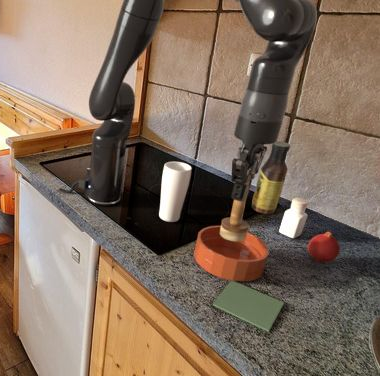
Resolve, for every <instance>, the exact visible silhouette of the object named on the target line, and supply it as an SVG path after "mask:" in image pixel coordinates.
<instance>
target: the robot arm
mask: <svg viewBox="0 0 380 376" xmlns="http://www.w3.org/2000/svg"><path fill="white" fill-rule="evenodd" d="M234 2H235V3H236V4H238V5H239V7H240V9H241V11H242V14H243V16H244V18H245V19H246V22H247V23H248V25H249V27H250V28H251V29H252V30H253V32H254V33H255V34H256V35H257V36H258V37H260V38H261V39H263V40H264V41H267V45H266V47H265V50H264V52H263V53H262V54H261V55H259V56H257V57H256V58H255V59H254V60H253V62H252V64H251V67H250V71H249V76H248V80H247V84H246V88H245V91H244V93H243V96H242V99H241V103H240V108H239V112H238V115H237V119H236V124H235V128H234V132H233V134H234V137H235V138H236V139H238V140H240V141H241V142H242V144H241V147H240V146H239V147H238V149H237V152H236V158H235V157H234V158H233V159H232V160H231V178H230V181H231V182H232V183H234V184H233V188H232V192H231V195H230V196H231V199H232V200H233V201H234V200H237V201H242V200H243V199H244V196H245V192H246V188H247V184H248V183H249V178H250V175H251V179H250V184H249V188H248V193H247V196H249V193H250V190H251V186H252V183H253V180H254V179H255V178H256V175H257V174H258V173H259V170H260V169H261V168H260V167H261V165H262V162H263V160H264V158H265V156H266V155H265V154H266V152H267V151H268V146H265V145H272V144H273V143H275V142H277V141H278V139H279V135H280V131H281V128H282V125H283V121H284V117H285V114H286V110H287V107H288V100H289V94H290V91H291V89H292V88H291V87H292V84H293V80H294V77H295V72H296V69H297V67H298V65H299V63H300V61H301V59H302V58H303V56H304V53H305V51H306V49H307V47H308V45H309V43H310V41H311V39H312V37H313V35H314V32H315V29H316V25H317V19H318V12H317V11H318V10H317V7H316V4H315V3H314V2H313V1H312V0H234ZM164 8H165V0H123V1H122V4H121V7H120V10H119V13H118V16H117V19H116V21H115V22H116V23H115V27H114V30H113V33H112V36H111V39H110V42H109V44H108V48H107V51H106V54H105V57H104V60H103V62H102V64H101V67H100V70H99V72H98V74H97V77H96V79H95V81H94V83H93V86H92V88H91V90H90V94H89V97H88V110H89V113H90V115H91V116H92V118H93V119H95V120H97V121H99V122H101V121H102V123H101V124H100V126H99V127H97V128H96V129H95V130H94V131H93V133H92V140H91V153H90V154H91V155H90V163H89V164H90V165H88V166H87V168H86V175H85V176H84V177H81V178H79V179H78V180H77V181H75V182H74V183H72V184H71V188H70V189H65V188H61V187H59V188H58V190H59V191H60V192H63V193H65V194H70V193H73V191H74V189H75V186H77V185H78V188H80V189H83V190H85V193H84V198H86V199H87V200H88V201H89V202H90V203H91V204H94V205H96V206H101V207H111V206H112V207H113V206H116V205H118V204H120V203H121V194H122V193H121V192H122V186H123V177H124V176H123V175H124V167H125V158H126V149H127V141H128V138H129V136H130V134H131V131H132V126H133V120H134V114H135V108H136V97H135V92H134V89H133V87H132V86H131V85H130V84H129V83H127V82H126V81H125V82H124V80H125V78H126V77H127V74H128V73H129V71H130V70H131V68H132V67H133V66H134V64H135V63H136V62H137V61H138V59H139V58H140V57H141V56H142V55H143V54H144V52H145V51H146V50H147V48H148V47H149V45H150V44H151V43H152V41H153V40H154V38H155V35H156V32H157V29H158V27H159V25H160V21H161V19H162V16H163V14H164ZM239 176H241V177H239Z"/></svg>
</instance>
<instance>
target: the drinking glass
mask: <svg viewBox="0 0 380 376" xmlns="http://www.w3.org/2000/svg"><path fill="white" fill-rule="evenodd" d="M191 176H192V166H191V165H189V164H188V163H185V162H182V161H168V162H165V163H164V166H163V170H162V176H161V184H160V185H161V186H160V187H161V188H160V203H159V211H158V216H159V218H160V219H161V220H162V221H164V222H168V223H175V222H178V221H179V220H180V218H181V213H182V210H183V206H184V203H185V199H186V195H187V192H188V189H189V186H190V181H191Z"/></svg>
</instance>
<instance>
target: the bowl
mask: <svg viewBox="0 0 380 376" xmlns="http://www.w3.org/2000/svg"><path fill="white" fill-rule="evenodd" d="M220 228H221V225H211V226H207V227H204V228H202V229H201V230H200V231H199V232H198V233H197V238H196V243H195V248H194V252H193V257H194V259H195V262H196V263H197V264H198V265H199V267H201V268H202V269H203V270H205V271H206V272H207V273H209V274H210V275H213V276H214V277H216V278H219V279H223V280H226V281H230V282H231V280H233V281H235V282H251V281H255V280H257V279H259V278H261V277H262V275H263V273H264V272H265V268H266V264H267V262H268V259H269V255H270V250H269V247H268V245H267V244H266V242H265V241H263V240H262V239H261V238H260V237H258V236H257V235H256V234H253V233H252V232H250V231H247V236H246V239H245V240H244V241H240V242H236V241H230V240H227V239H225V238H223V237H222V236H221V235H220Z"/></svg>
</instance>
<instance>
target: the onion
mask: <svg viewBox="0 0 380 376" xmlns="http://www.w3.org/2000/svg"><path fill="white" fill-rule="evenodd" d="M307 250H308V254H309V255H310V256H311V258H312V259H313V260H314V262H316V263H317V264H323V263H324V264H325V263H329V262H333V261H334V260H336V259H337V258H338V256H339V254H340V251H341V247H340V244H339V241H338V240H337V239H336V238H335V236H333V234H332V232H330V231H326V232H325V233H319V234H317V235H315V236H313V237H312V238H311V239H310V240H309V242H308V245H307Z"/></svg>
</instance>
